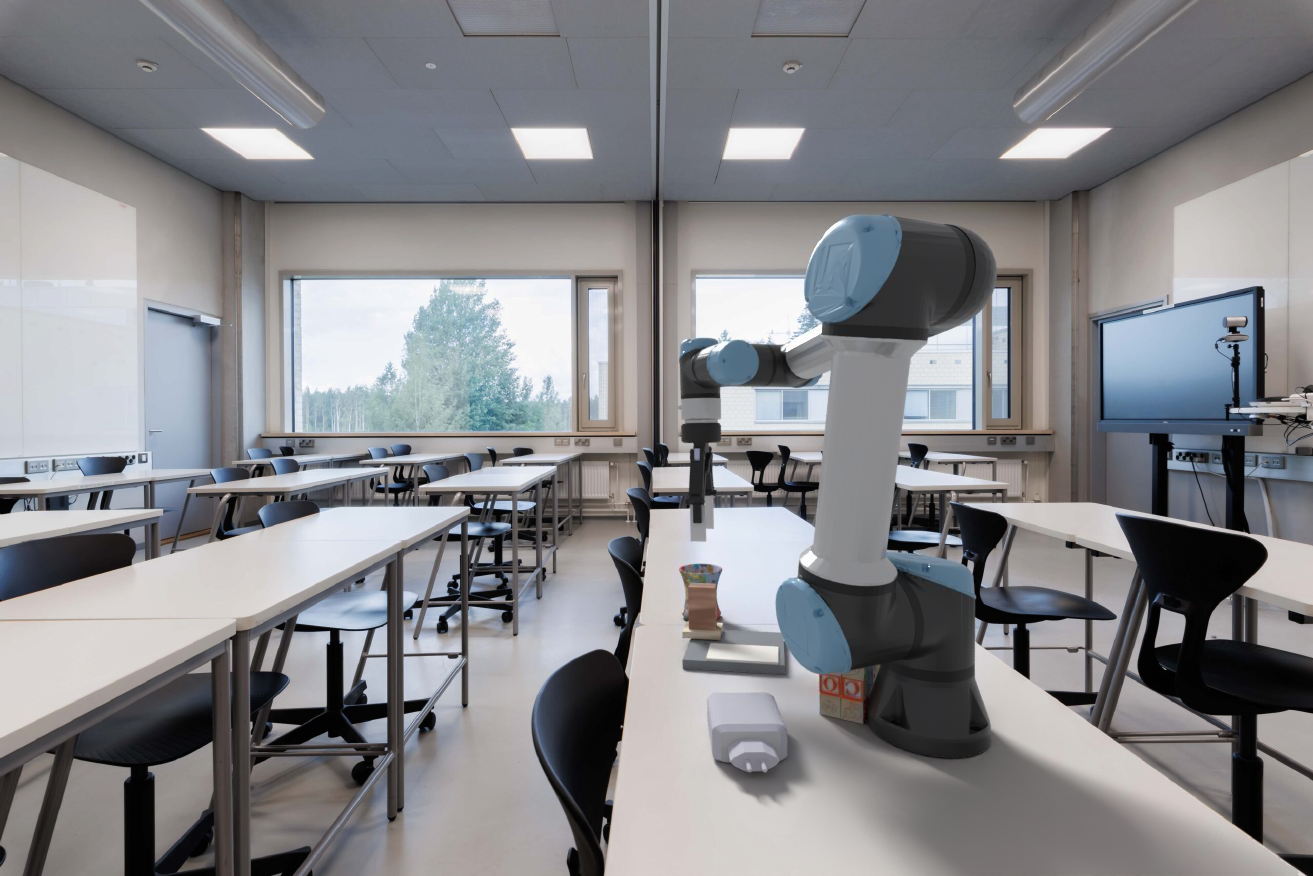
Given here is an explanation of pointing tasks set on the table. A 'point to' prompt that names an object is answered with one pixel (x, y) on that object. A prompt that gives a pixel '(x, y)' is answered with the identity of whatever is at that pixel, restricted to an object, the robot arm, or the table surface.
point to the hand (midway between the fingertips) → (702, 534)
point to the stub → (702, 613)
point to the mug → (699, 579)
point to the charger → (746, 730)
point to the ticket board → (738, 652)
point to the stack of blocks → (847, 693)
